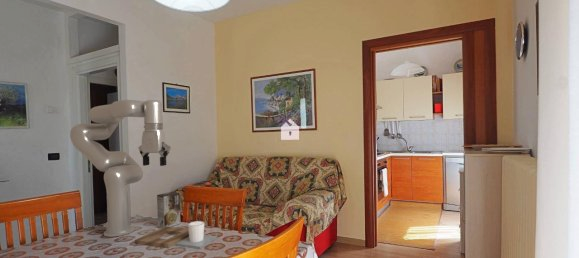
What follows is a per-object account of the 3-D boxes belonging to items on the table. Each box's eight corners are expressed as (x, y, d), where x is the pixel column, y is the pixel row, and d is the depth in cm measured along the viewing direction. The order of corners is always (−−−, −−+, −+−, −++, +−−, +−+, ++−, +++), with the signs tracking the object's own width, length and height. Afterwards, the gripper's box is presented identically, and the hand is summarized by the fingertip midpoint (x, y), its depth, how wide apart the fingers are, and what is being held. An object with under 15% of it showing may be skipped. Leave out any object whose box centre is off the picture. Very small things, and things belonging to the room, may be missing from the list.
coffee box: (173, 221, 153) (173, 191, 153) (180, 223, 149) (180, 192, 149) (157, 226, 145) (156, 194, 146) (164, 229, 142) (163, 196, 142)
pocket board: (134, 243, 124) (134, 240, 124) (165, 229, 141) (165, 226, 141) (168, 248, 118) (168, 244, 118) (196, 233, 135) (196, 229, 135)
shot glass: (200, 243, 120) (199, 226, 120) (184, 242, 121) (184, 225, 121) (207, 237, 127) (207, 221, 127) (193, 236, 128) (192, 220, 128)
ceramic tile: (175, 245, 120) (175, 243, 120) (194, 235, 132) (194, 233, 132) (200, 248, 116) (200, 246, 116) (217, 237, 128) (217, 236, 128)
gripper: (132, 128, 131) (133, 166, 131) (163, 127, 125) (163, 166, 125) (145, 128, 138) (146, 164, 138) (175, 127, 132) (176, 164, 132)
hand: (154, 165), depth 131 cm, fingers open, 9 cm apart
